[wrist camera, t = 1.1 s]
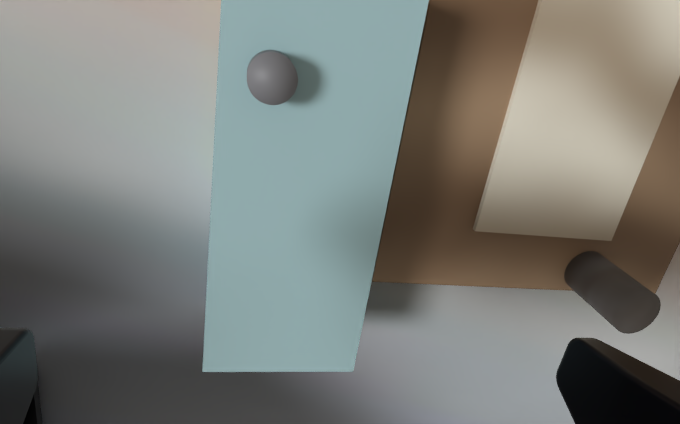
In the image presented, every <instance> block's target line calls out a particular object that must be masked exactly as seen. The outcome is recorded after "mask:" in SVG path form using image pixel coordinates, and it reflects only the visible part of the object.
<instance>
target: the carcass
mask: <svg viewBox="0 0 680 424" xmlns="http://www.w3.org/2000/svg"><path fill="white" fill-rule="evenodd" d="M679 242H680V0H429V3H428V8H427V13H426V17H425V22H424V27H423V32H422V37H421V42H420V47H419V52H418V57H417V61H416V66H415V71H414V76H413V81H412V86H411V91H410V96H409V101H408V105H407V110H406V115H405V120H404V125H403V130H402V135H401V140H400V145H399V150H398V154H397V159H396V164H395V169H394V174H393V179H392V184H391V189H390V194H389V198H388V203H387V208H386V213H385V218H384V223H383V228H382V233H381V238H380V242H379V247H378V252H377V257H376V262H375V267H374V272H373V277H372V282H392V283H414V284H437V285H459V286H482V287H505V288H527V289H550V290H572V291H575V292H576V293H577V294H578V295H580V296H581V297H582V298H583V299H584V300H585V301H586V302H587V303H588V304H590V305H591V306H592V307H593V308H594V309H595V310H596V311H597V312H598V313H600V314H601V315H602V316H603V317H604V318H605V319H606V320H607V321H608V322H610V323H611V324H612V325H613V326H614V327H615V328H616V329H617V330H618V331H620V332H622V333H635V332H638V331H640V330H642V329H644V328H646V327H647V326H648V325H650V324H651V323H652V322H653V321H654V319H655V318H656V317H657V315H658V313H659V310H660V299H659V297H658V296H657V295H656V294H655V293H656V291H657V289H658V287H659V284H660V282H661V280H662V278H663V276H664V274H665V272H666V270H667V268H668V265H669V263H670V261H671V259H672V257H673V255H674V253H675V251H676V249H677V247H678V244H679Z"/></svg>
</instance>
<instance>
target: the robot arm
mask: <svg viewBox="0 0 680 424" xmlns="http://www.w3.org/2000/svg"><path fill="white" fill-rule="evenodd" d="M37 379H38V370H37V361H36V351H35V342H34V336H33V333H32V331H30V330H29V329H27V328H0V424H42V417H41V408H40V399H39V390H38V381H37ZM556 379H557V385H558V387H559V390H560V392H561V394H562V396H563V398H564V401H565V403H566V405H567V407H568V409H569V411H570V413H571V416H572V418H573V420H574V422H575V424H680V381H679V380H677V379H675V378H673V377H671V376H669V375H667V374H665V373H663V372H661V371H659V370H657V369H655V368H653V367H651V366H649V365H647V364H645V363H643V362H641V361H639V360H637V359H635V358H633V357H631V356H629V355H627V354H625V353H623V352H621V351H620V350H618V349H616V348H614V347H612V346H610V345H608V344H606V343H604V342H602V341H600V340H597V339H594V338H575V339H572V340H571V341H570V342H569V344H568V346H567V348H566V351H565V353H564V356H563V358H562V361H561V363H560V365H559V368H558V370H557V375H556Z"/></svg>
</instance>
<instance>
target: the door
mask: <svg viewBox="0 0 680 424" xmlns="http://www.w3.org/2000/svg"><path fill="white" fill-rule="evenodd" d="M428 3H429V0H221V18H220V38H219V57H218V76H217V96H216V115H215V135H214V154H213V174H212V193H211V213H210V232H209V252H208V271H207V291H206V310H205V329H204V349H203V368H202V372H353V370H354V365H355V360H356V355H357V350H358V345H359V340H360V335H361V331H362V326H363V321H364V316H365V311H366V306H367V301H368V296H369V291H370V287H371V282H372V277H373V272H374V267H375V262H376V257H377V252H378V247H379V242H380V238H381V233H382V228H383V223H384V218H385V213H386V208H387V203H388V198H389V194H390V189H391V184H392V179H393V174H394V169H395V164H396V159H397V154H398V150H399V145H400V140H401V135H402V130H403V125H404V120H405V115H406V110H407V105H408V101H409V96H410V91H411V86H412V81H413V76H414V71H415V66H416V61H417V57H418V52H419V47H420V42H421V37H422V32H423V27H424V22H425V17H426V13H427V8H428Z"/></svg>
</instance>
